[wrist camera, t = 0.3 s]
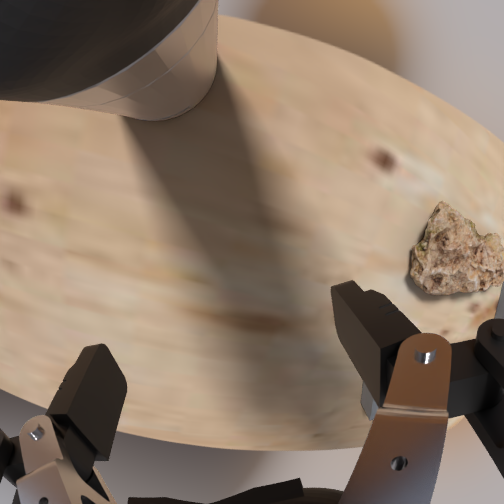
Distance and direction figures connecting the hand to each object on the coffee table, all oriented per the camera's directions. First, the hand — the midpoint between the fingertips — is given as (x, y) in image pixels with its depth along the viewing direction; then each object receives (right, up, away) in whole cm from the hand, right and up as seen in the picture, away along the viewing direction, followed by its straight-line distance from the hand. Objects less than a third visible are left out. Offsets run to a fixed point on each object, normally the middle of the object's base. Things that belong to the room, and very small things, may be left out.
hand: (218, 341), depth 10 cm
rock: (+25, +4, +21) cm, 33 cm away
